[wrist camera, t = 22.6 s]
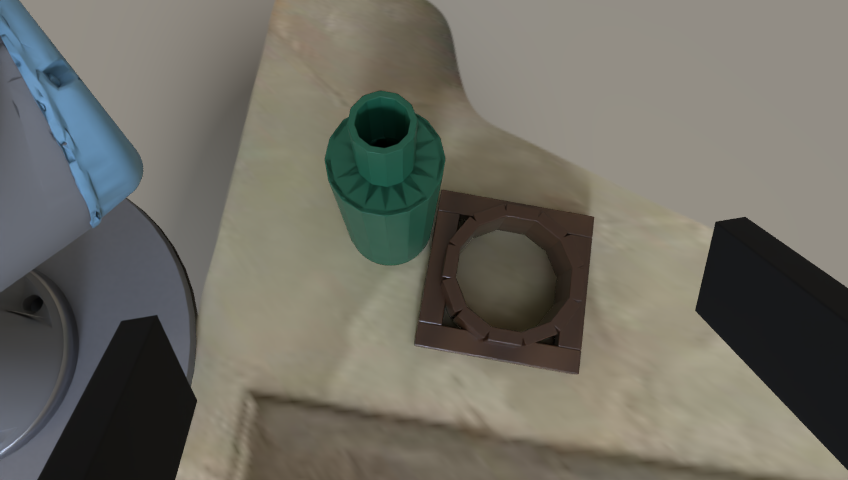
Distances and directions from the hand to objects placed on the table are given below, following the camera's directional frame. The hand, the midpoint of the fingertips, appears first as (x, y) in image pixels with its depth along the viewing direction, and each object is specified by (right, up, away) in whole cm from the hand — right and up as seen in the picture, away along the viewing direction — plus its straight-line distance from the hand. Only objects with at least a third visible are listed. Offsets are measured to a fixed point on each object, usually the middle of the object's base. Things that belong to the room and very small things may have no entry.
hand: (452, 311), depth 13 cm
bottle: (-3, +3, +31) cm, 31 cm away
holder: (+6, -2, +30) cm, 30 cm away
